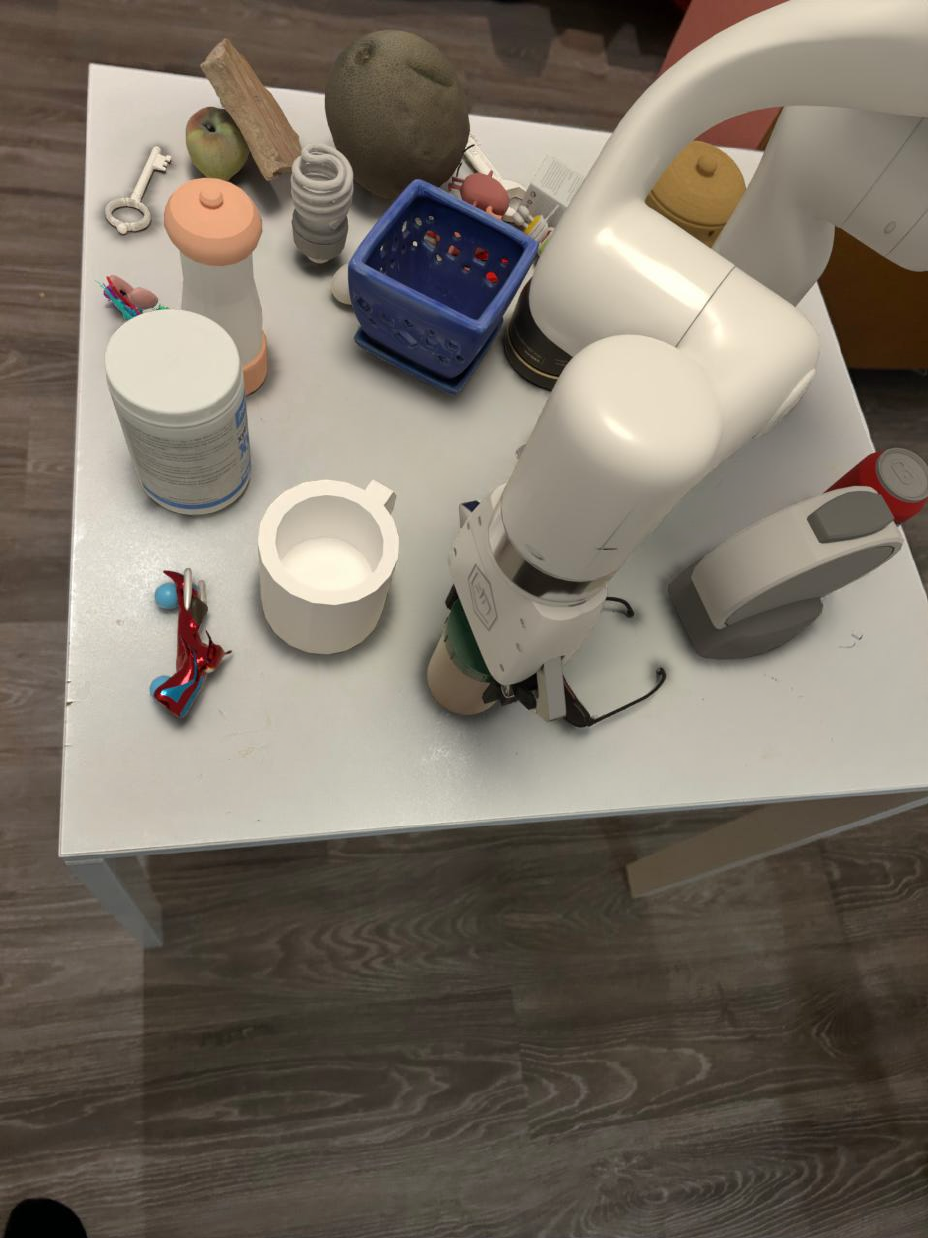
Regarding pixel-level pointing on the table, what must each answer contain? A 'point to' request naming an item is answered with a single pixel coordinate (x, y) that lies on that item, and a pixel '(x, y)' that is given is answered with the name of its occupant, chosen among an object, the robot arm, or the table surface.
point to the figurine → (480, 198)
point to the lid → (464, 645)
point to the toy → (536, 225)
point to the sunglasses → (578, 712)
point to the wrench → (485, 167)
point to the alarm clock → (782, 571)
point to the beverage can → (892, 480)
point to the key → (138, 194)
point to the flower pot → (435, 285)
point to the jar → (532, 346)
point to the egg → (341, 285)
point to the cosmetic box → (551, 190)
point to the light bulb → (321, 202)
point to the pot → (699, 191)
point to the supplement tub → (181, 408)
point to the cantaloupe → (396, 112)
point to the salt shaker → (221, 264)
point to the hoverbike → (186, 644)
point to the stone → (252, 110)
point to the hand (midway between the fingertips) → (483, 647)
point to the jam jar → (454, 685)
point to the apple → (216, 143)
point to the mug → (327, 563)
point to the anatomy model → (129, 297)
